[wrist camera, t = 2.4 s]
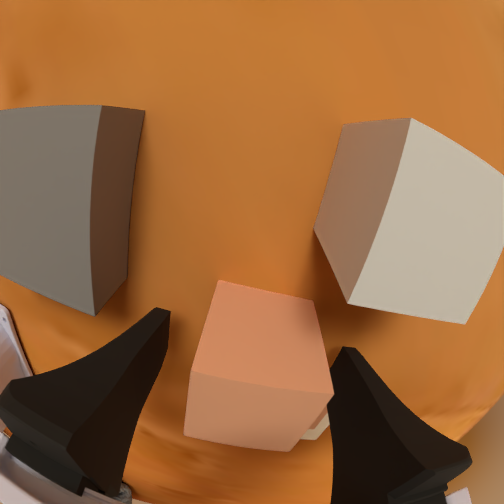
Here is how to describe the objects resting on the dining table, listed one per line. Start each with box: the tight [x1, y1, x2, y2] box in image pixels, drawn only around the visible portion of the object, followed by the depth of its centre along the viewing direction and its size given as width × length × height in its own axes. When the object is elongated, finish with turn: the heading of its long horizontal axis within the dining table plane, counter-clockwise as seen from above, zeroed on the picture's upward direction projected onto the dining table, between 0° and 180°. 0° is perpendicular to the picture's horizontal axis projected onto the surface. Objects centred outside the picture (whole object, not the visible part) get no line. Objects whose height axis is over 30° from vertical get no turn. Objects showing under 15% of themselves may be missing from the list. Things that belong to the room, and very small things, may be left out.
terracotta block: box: [183, 280, 334, 452], centre depth 10 cm, size 4×4×5 cm
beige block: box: [313, 118, 504, 324], centre depth 7 cm, size 4×4×5 cm
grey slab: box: [0, 105, 145, 316], centre depth 8 cm, size 7×7×3 cm
